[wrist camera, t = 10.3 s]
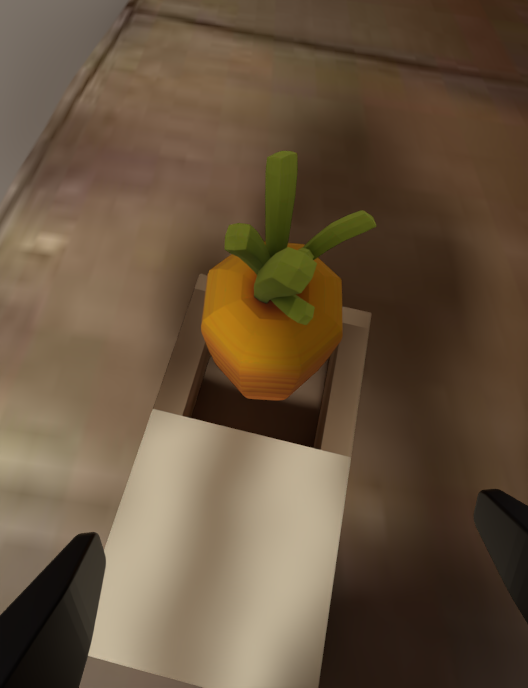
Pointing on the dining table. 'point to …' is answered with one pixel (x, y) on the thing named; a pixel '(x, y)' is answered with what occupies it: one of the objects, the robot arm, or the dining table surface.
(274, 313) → the carrot
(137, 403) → the dining table surface
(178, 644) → the open matchbox
